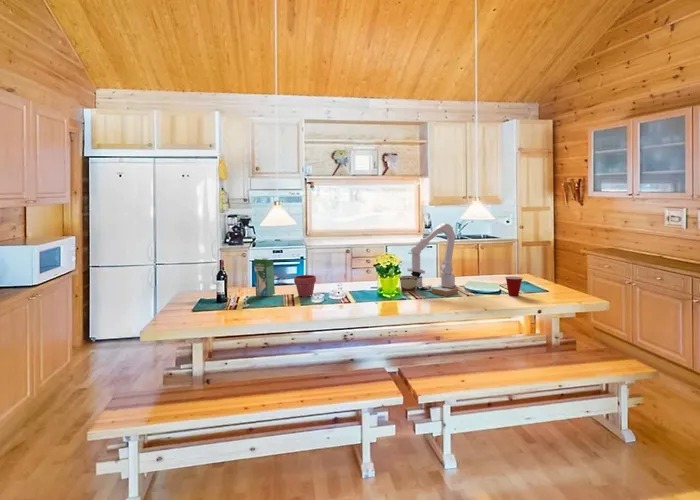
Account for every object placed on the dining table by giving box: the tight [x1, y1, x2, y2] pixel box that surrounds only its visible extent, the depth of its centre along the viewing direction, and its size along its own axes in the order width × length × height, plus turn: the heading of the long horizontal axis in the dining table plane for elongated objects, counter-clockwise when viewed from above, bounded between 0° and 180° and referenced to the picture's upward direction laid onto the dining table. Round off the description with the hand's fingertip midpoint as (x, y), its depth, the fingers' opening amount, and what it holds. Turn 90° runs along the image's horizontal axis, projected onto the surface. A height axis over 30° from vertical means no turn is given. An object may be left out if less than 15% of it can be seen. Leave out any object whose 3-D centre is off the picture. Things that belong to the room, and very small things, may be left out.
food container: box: [399, 275, 418, 293], centre depth 323 cm, size 12×6×10 cm, turn 84°
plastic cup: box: [504, 275, 524, 297], centre depth 304 cm, size 11×11×12 cm
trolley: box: [416, 275, 433, 291], centre depth 329 cm, size 7×9×8 cm
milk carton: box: [253, 257, 276, 297], centre depth 320 cm, size 9×9×25 cm
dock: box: [423, 286, 459, 297], centre depth 318 cm, size 12×21×4 cm, turn 40°
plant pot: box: [293, 274, 317, 298], centre depth 316 cm, size 14×14×13 cm
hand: (416, 282), depth 334 cm, fingers closed
